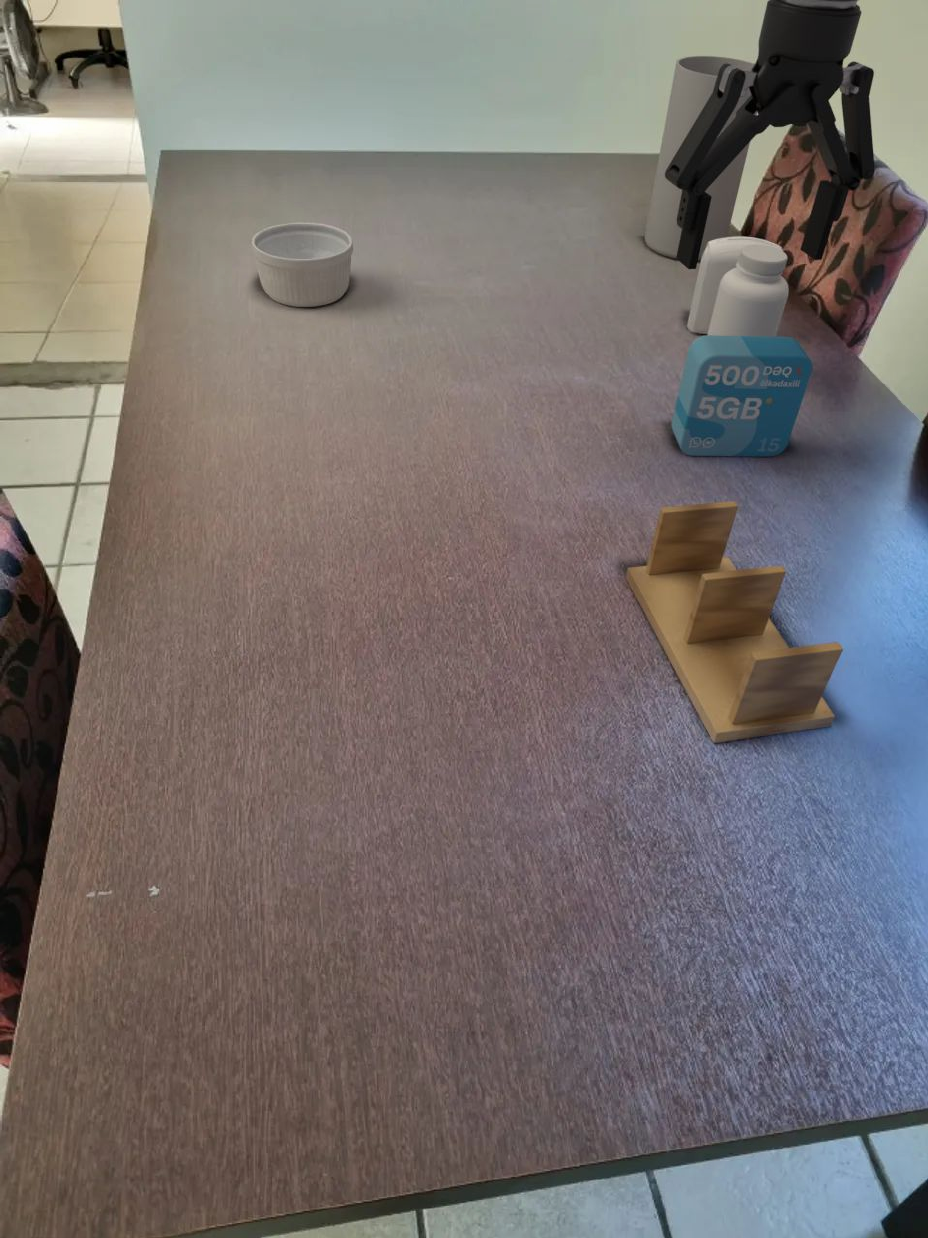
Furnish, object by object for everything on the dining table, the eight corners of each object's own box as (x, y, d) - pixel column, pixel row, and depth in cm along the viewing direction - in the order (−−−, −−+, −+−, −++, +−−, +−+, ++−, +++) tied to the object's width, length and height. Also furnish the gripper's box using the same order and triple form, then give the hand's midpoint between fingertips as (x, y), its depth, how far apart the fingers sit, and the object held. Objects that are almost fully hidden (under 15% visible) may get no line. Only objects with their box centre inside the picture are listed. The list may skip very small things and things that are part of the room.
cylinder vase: (725, 266, 142) (770, 81, 126) (642, 257, 144) (676, 72, 127) (721, 236, 152) (763, 60, 135) (644, 227, 153) (675, 52, 136)
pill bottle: (771, 369, 118) (807, 250, 108) (752, 395, 113) (787, 272, 103) (711, 351, 121) (741, 233, 111) (690, 375, 116) (719, 254, 106)
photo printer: (687, 334, 124) (708, 241, 116) (684, 320, 128) (705, 228, 119) (765, 342, 124) (792, 248, 116) (760, 327, 127) (786, 235, 119)
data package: (677, 456, 102) (702, 354, 94) (668, 434, 105) (691, 333, 97) (784, 457, 103) (817, 356, 95) (771, 435, 106) (803, 336, 98)
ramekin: (238, 300, 125) (232, 248, 120) (283, 265, 134) (279, 215, 129) (329, 319, 122) (327, 266, 117) (369, 281, 131) (368, 231, 127)
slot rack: (725, 567, 88) (747, 495, 83) (830, 726, 74) (866, 652, 68) (625, 577, 86) (641, 504, 81) (713, 743, 72) (740, 668, 66)
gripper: (917, -10, 82) (839, 236, 96) (656, -12, 76) (615, 251, 90) (974, 7, 76) (882, 265, 91) (699, 7, 70) (647, 283, 85)
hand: (749, 259), depth 90 cm, fingers open, 13 cm apart
